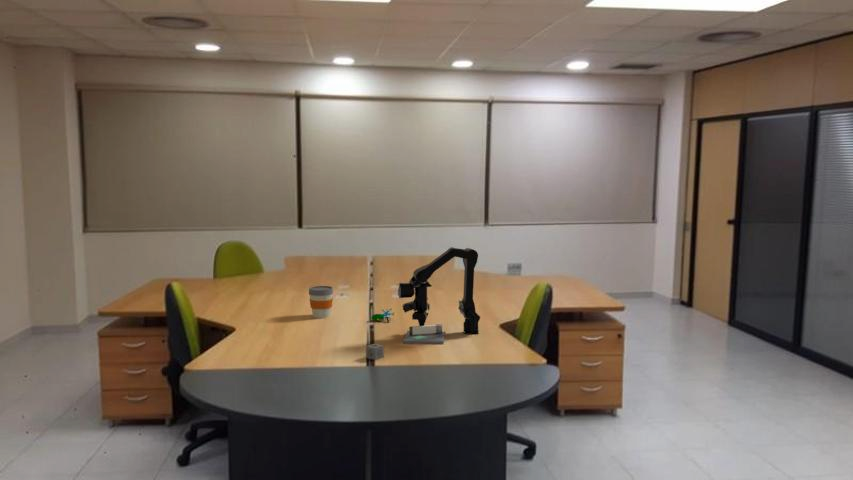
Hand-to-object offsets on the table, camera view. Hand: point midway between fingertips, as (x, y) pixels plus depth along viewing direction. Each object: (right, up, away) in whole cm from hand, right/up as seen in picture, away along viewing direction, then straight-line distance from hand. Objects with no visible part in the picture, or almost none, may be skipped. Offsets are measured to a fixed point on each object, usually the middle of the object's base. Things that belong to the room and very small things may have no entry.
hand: (421, 329), depth 293 cm
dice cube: (-19, -8, -32) cm, 38 cm away
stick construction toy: (-20, 0, +28) cm, 34 cm away
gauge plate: (+2, -4, -4) cm, 6 cm away
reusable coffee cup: (-53, +1, +40) cm, 66 cm away
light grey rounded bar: (+2, -2, -1) cm, 3 cm away
